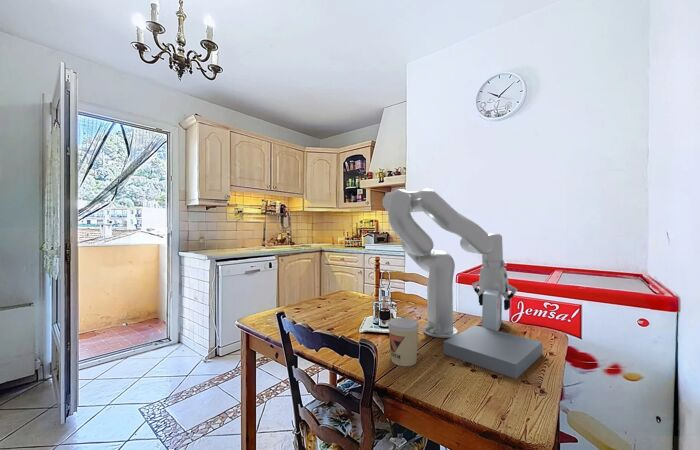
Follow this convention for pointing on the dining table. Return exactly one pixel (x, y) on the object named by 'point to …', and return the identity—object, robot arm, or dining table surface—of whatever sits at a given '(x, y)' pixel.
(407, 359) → the coffee cup
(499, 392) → the dining table surface
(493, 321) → the skincare box
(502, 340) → the podium
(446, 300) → the robot arm
